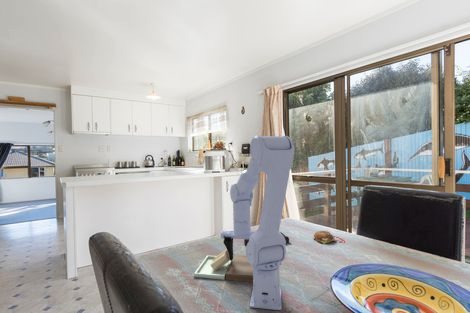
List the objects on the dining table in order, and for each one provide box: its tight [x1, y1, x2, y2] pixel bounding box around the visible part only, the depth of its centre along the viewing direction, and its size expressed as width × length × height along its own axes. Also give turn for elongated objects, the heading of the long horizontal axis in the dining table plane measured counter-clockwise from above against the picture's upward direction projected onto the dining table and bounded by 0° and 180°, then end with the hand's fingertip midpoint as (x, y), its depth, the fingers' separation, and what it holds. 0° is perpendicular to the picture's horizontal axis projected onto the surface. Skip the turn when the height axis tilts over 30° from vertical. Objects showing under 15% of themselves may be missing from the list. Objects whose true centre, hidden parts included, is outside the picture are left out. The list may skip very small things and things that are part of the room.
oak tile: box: [210, 248, 230, 271], centre depth 83 cm, size 6×6×2 cm
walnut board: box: [225, 254, 253, 283], centre depth 81 cm, size 14×9×2 cm, turn 169°
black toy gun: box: [243, 231, 290, 246], centre depth 110 cm, size 3×20×16 cm
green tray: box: [193, 255, 231, 280], centre depth 83 cm, size 14×10×1 cm
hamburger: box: [313, 230, 346, 245], centre depth 108 cm, size 14×14×6 cm
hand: (242, 260), depth 81 cm, fingers open, 7 cm apart
